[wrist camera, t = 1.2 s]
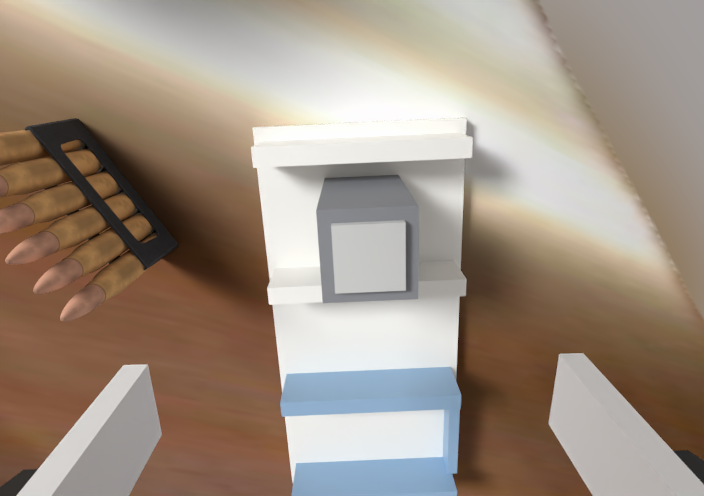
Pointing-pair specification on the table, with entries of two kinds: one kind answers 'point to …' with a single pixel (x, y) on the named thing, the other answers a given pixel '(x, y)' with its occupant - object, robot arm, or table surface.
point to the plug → (367, 239)
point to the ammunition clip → (77, 213)
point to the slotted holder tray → (366, 312)
